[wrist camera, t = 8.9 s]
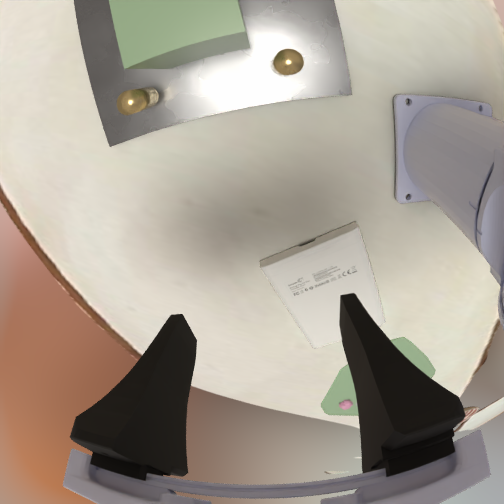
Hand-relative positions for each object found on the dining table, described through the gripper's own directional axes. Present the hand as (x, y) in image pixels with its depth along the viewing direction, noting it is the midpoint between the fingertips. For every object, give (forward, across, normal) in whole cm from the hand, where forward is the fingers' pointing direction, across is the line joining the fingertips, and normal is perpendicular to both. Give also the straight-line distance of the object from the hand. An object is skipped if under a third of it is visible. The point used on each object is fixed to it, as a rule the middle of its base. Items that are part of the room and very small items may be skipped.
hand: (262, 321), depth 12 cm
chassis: (+9, +1, -16) cm, 19 cm away
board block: (+9, +1, -16) cm, 18 cm away
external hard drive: (+10, -5, +8) cm, 14 cm away
